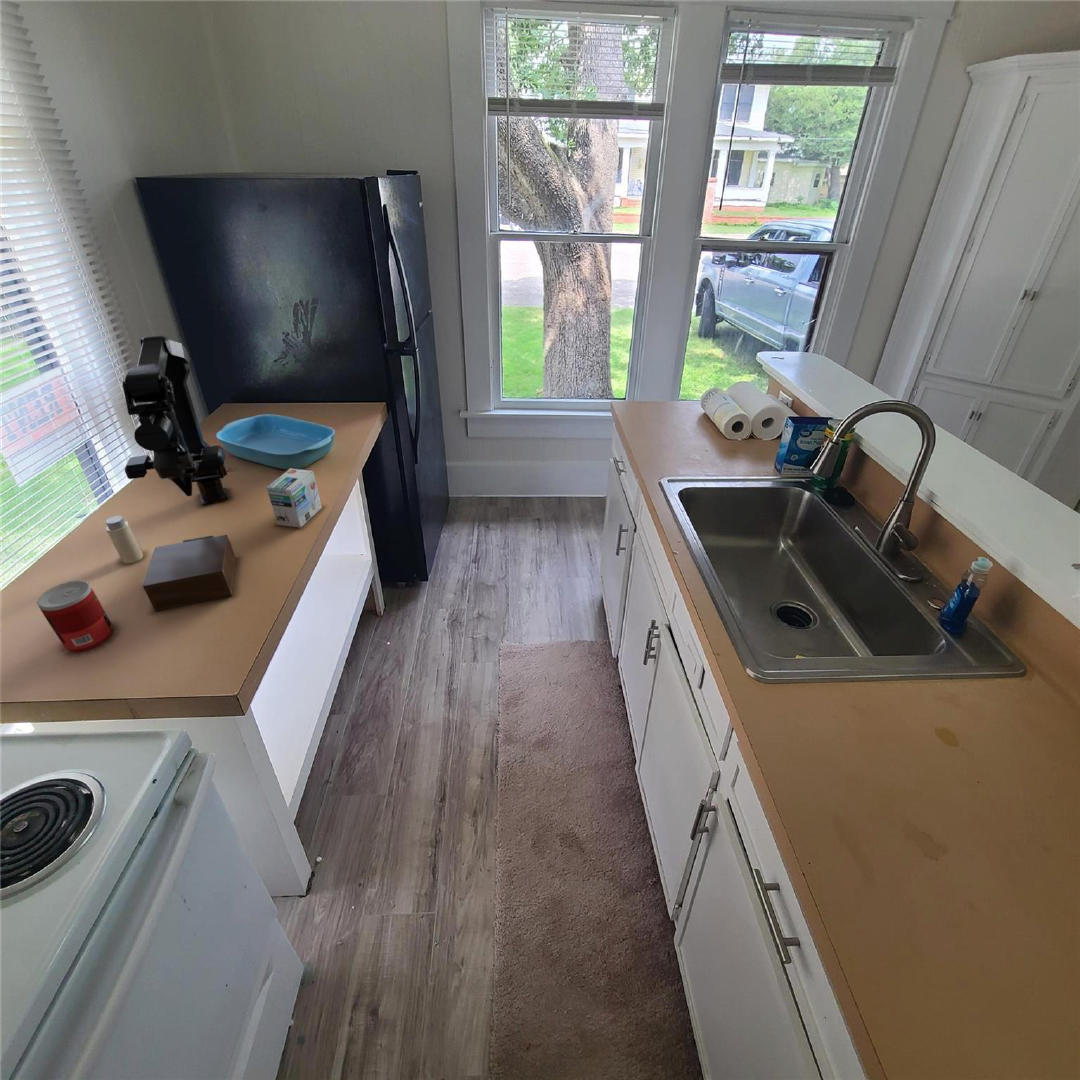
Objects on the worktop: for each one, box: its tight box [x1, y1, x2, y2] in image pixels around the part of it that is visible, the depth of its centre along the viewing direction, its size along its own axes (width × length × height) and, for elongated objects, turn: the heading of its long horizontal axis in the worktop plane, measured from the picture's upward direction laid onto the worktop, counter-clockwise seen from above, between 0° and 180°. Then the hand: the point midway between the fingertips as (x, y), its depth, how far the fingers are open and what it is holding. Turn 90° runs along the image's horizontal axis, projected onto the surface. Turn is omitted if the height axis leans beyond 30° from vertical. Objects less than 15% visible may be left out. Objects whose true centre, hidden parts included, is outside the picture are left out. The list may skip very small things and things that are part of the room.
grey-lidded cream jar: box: [105, 515, 144, 564], centre depth 128 cm, size 4×4×10 cm
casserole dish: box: [215, 413, 336, 471], centre depth 175 cm, size 37×22×7 cm, turn 66°
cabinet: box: [142, 534, 237, 613], centre depth 122 cm, size 14×14×7 cm
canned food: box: [36, 580, 114, 653], centre depth 107 cm, size 8×8×11 cm
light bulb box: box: [266, 469, 323, 529], centre depth 144 cm, size 11×7×11 cm, turn 168°
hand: (189, 495), depth 131 cm, fingers closed
